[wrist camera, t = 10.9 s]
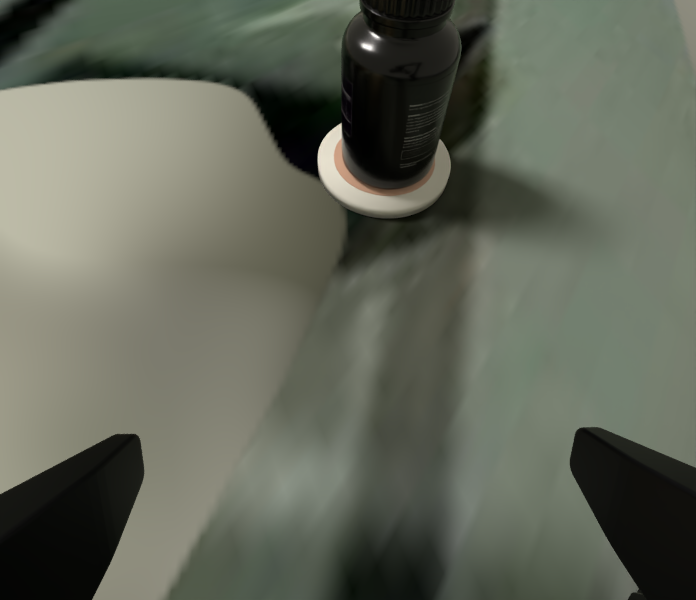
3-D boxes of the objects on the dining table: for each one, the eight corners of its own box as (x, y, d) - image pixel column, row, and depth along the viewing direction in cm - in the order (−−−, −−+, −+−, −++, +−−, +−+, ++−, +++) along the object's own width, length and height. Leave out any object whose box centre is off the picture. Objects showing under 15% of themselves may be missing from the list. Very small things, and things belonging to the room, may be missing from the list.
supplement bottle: (426, 130, 32) (472, -65, 21) (437, 194, 28) (497, 1, 18) (340, 128, 31) (342, -70, 21) (339, 193, 28) (342, -3, 18)
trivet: (473, 173, 31) (478, 162, 30) (383, 241, 28) (384, 231, 27) (382, 109, 34) (384, 97, 33) (291, 163, 31) (290, 151, 30)
